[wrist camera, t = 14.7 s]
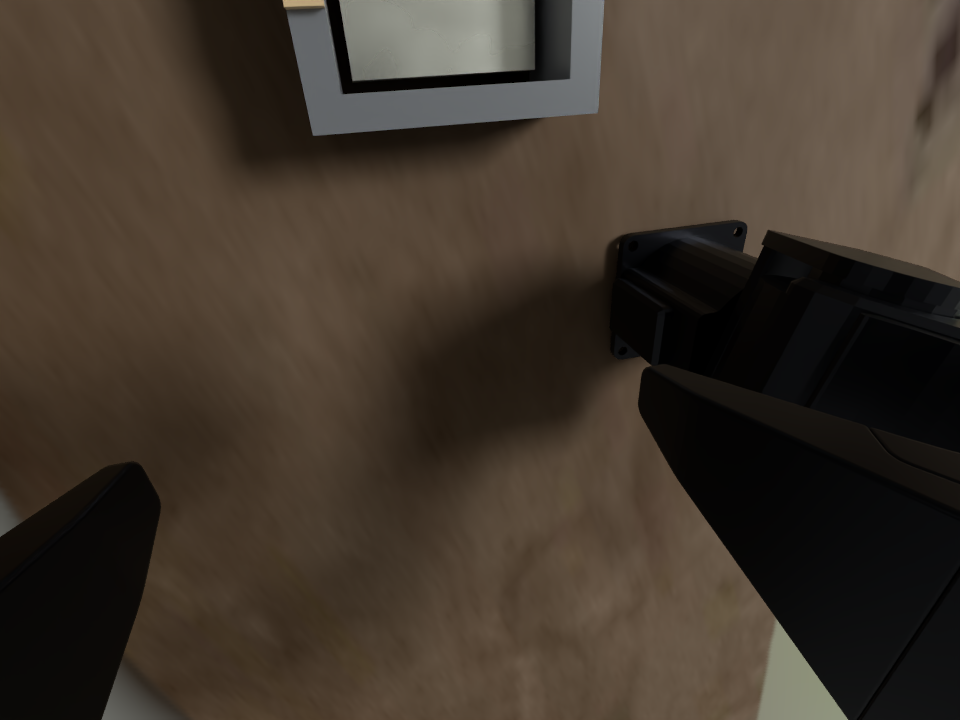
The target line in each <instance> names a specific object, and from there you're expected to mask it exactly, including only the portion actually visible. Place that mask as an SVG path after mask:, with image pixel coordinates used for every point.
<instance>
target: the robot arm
mask: <svg viewBox="0 0 960 720" xmlns="http://www.w3.org/2000/svg"><path fill="white" fill-rule="evenodd" d="M736 228H737V231H736V233H735V234H734V235H733V232H734V230H735V229H736ZM746 234H747V225H746V224H745V223H744V222H742V221H738V220H730V221H722V222H715V223H707V224H699V225H691V226H684V227H676V228H668V229H660V230H652V231H645V232H637V233H630V234H627V235H625V236H624V237H623V238H622V239H621V241H620V244H619V253H618V265H617V277H616V280H615V282H614V283H613V292H612V304H611V316H610V329H611V330H612V336H611V347H610V350H611V353H612V355H613V356H614V357H615V358H617V359H627V358H633V357H638V356H641V357H642V358H644V359H645V360H646V361H647V362H648V363H649V364H650V365H651V366H650V367H646V368H645V369H644V370H643V372H642V376H641V383H640V391H639V399H638V407H639V411H640V414H641V416H642V418H643V420H644V422H645V423H646V425H647V427H648V429H649V430H650V432H651V434H652V436H653V438H654V439H655V441H656V443H657V445H658V447H659V448H660V450H661V452H662V454H663V455H664V457H665V459H666V461H667V463H668V464H669V466H670V468H671V469H672V471H673V473H674V474H675V476H676V478H677V479H678V481H679V482H680V484H681V485H682V487H683V488H684V489H685V491H686V492H687V494H688V495H689V496H690V498H691V499H692V501H693V502H694V503H695V505H696V506H697V508H698V509H699V510H700V512H701V513H702V515H703V516H704V518H705V519H706V520H707V522H708V523H709V525H710V526H711V527H712V529H713V530H714V532H715V533H716V534H717V536H718V537H719V539H720V540H721V541H722V543H723V544H724V546H725V547H726V548H727V550H728V551H729V553H730V554H731V555H732V557H733V558H734V560H735V561H736V563H737V564H738V565H739V567H740V568H741V570H742V571H743V572H744V574H745V575H746V577H747V578H748V579H749V581H750V582H751V584H752V585H753V586H754V588H755V589H756V591H757V592H758V593H759V595H760V596H761V598H762V599H763V600H764V602H765V603H766V605H767V606H768V608H769V609H770V610H771V612H772V613H773V615H774V616H775V617H776V619H777V620H778V622H779V623H780V624H781V626H782V627H783V629H784V630H785V631H786V633H787V634H788V636H789V637H790V638H791V640H792V641H793V643H794V644H795V645H796V647H797V648H798V650H799V651H800V652H801V654H802V655H803V657H804V658H805V659H806V661H807V662H808V664H809V665H810V667H811V668H812V669H813V671H814V672H815V674H816V675H817V676H818V678H819V679H820V681H821V682H822V683H823V685H824V686H825V688H826V689H827V690H828V692H829V693H830V695H831V696H832V697H833V699H834V700H835V702H836V703H837V705H838V706H839V707H840V709H841V710H842V712H843V713H844V714H845V716H846V717H847V719H848V720H960V282H959V281H957V280H954V279H952V278H949V277H947V276H945V275H942V274H940V273H938V272H935V271H933V270H931V269H928V268H926V267H923V266H919V265H915V264H912V263H908V262H904V261H901V260H897V259H893V258H890V257H886V256H882V255H878V254H875V253H871V252H867V251H864V250H860V249H855V248H851V247H846V246H841V245H837V244H832V243H828V242H823V241H818V240H814V239H809V238H804V237H800V236H795V235H790V234H786V233H781V232H776V231H772V230H768V231H767V233H766V235H765V237H764V240H763V242H762V245H764V247H763V249H762V251H761V253H760V255H759V257H758V258H756V257H753V256H750V255H748V254H745V253H743V248H744V243H745V239H746ZM632 241H634V245H633V247H632V248H631V249H628V246H629V244H630V243H631V242H632ZM621 347H623V349H622V351H620V352H618V351H619V349H620V348H621ZM160 511H161V504H160V499H159V496H158V494H157V492H156V491H155V489H154V487H153V485H152V483H151V481H150V480H149V478H148V476H147V474H146V472H145V471H144V469H143V467H142V466H141V465H140V464H139V463H137V462H134V461H131V462H125V463H120V464H114V465H109V466H107V467H104V468H103V469H101V470H100V471H98V472H97V473H95V474H94V475H92V476H91V477H89V478H88V479H86V480H85V481H83V482H82V483H80V484H79V485H77V486H76V487H74V488H73V489H71V490H70V491H68V492H67V493H65V494H64V495H62V496H61V497H59V498H58V499H56V500H55V501H53V502H52V503H50V504H49V505H47V506H46V507H44V508H43V509H41V510H40V511H38V512H37V513H35V514H34V515H32V516H31V517H29V518H28V519H26V520H25V521H23V522H22V523H20V524H19V525H17V526H16V527H14V528H13V529H11V530H10V531H8V532H7V533H6V534H4V535H2V536H1V537H0V720H101V719H102V716H103V713H104V710H105V707H106V705H107V702H108V699H109V696H110V692H111V689H112V687H113V684H114V680H115V677H116V675H117V671H118V669H119V665H120V662H121V660H122V657H123V654H124V651H125V648H126V645H127V642H128V639H129V636H130V633H131V630H132V627H133V624H134V621H135V618H136V615H137V612H138V608H139V605H140V602H141V599H142V595H143V591H144V587H145V582H146V578H147V573H148V568H149V563H150V559H151V554H152V549H153V545H154V540H155V535H156V530H157V526H158V521H159V516H160Z"/></svg>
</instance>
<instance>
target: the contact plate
mask: <svg viewBox="0 0 960 720" xmlns="http://www.w3.org/2000/svg"><path fill="white" fill-rule="evenodd" d="M339 2H340V8H341V14H342V20H343V26H344V32H345V38H346V44H347V50H348V56H349V62H350V68H351V74H352V80H353V83H356V82H372V81H388V80H403V79H419V78H435V77H451V76H467V75H483V74H499V73H515V72H525V71H530V70H535V0H339Z"/></svg>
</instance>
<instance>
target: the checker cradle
mask: <svg viewBox="0 0 960 720" xmlns="http://www.w3.org/2000/svg"><path fill="white" fill-rule="evenodd" d="M283 4H284V7H285V9H286V12H287V16H288V21H289V26H290V30H291V35H292V40H293V44H294V49H295V54H296V58H297V63H298V68H299V72H300V77H301V82H302V86H303V91H304V96H305V101H306V105H307V110H308V115H309V119H310V124H311V129H312V133H313V136H318V135H330V134H343V133H355V132H368V131H380V130H392V129H405V128H417V127H430V126H442V125H454V124H467V123H479V122H492V121H504V120H517V119H529V118H541V117H554V116H566V115H579V114H591V113H598V105H599V86H600V68H601V50H602V32H603V13H604V0H535V70H530V71H529V78H530V82H520V83H505V84H490V85H475V86H460V87H445V88H431V89H416V90H401V91H386V92H371V93H356V94H343V89H342V83H341V78H340V72H339V66H338V61H337V55H336V50H335V44H334V38H333V33H332V27H331V21H330V16H329V10H328V5H327V0H283Z"/></svg>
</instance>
